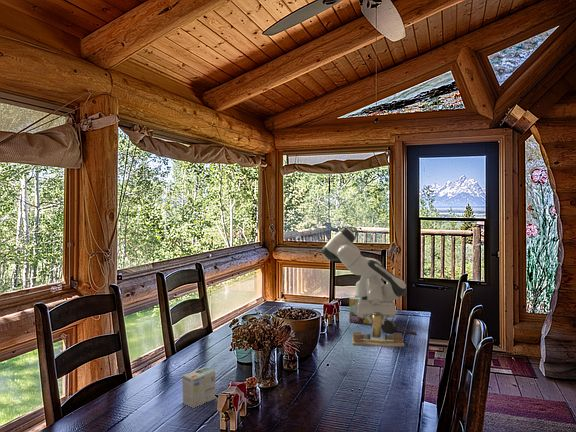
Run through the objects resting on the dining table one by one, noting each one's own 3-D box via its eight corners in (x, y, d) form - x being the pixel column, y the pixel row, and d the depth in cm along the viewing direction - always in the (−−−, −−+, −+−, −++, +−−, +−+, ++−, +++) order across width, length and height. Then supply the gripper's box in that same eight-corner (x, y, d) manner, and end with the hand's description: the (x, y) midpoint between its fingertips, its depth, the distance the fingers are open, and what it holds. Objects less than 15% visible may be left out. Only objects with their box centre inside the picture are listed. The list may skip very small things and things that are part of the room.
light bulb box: (204, 394, 165) (204, 366, 165) (216, 398, 161) (216, 370, 161) (181, 404, 157) (181, 374, 157) (193, 409, 153) (193, 379, 152)
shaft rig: (352, 338, 232) (352, 330, 232) (401, 340, 229) (401, 331, 229) (352, 344, 222) (352, 336, 222) (404, 346, 219) (404, 337, 219)
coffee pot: (379, 331, 245) (386, 330, 252) (409, 341, 234) (415, 340, 240) (382, 318, 245) (389, 317, 252) (412, 328, 234) (418, 327, 240)
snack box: (349, 322, 265) (349, 298, 265) (350, 320, 271) (350, 296, 270) (384, 325, 259) (384, 300, 259) (385, 322, 264) (385, 298, 264)
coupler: (371, 335, 228) (371, 311, 228) (380, 335, 227) (380, 312, 227) (372, 337, 223) (372, 313, 223) (381, 337, 223) (381, 314, 223)
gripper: (394, 304, 235) (396, 327, 226) (356, 303, 238) (357, 326, 228) (395, 298, 231) (397, 321, 221) (356, 297, 233) (357, 319, 224)
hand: (376, 323), depth 225 cm, fingers closed on coupler, 4 cm apart
